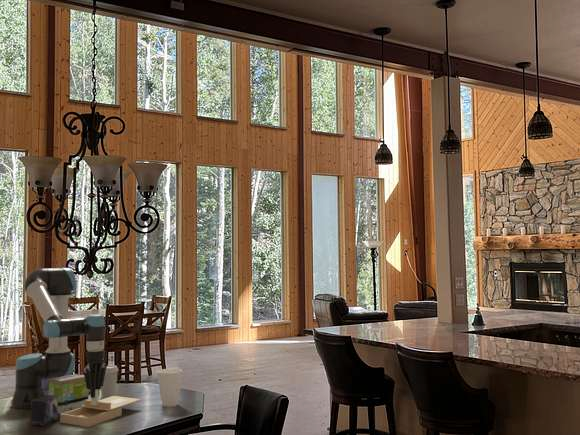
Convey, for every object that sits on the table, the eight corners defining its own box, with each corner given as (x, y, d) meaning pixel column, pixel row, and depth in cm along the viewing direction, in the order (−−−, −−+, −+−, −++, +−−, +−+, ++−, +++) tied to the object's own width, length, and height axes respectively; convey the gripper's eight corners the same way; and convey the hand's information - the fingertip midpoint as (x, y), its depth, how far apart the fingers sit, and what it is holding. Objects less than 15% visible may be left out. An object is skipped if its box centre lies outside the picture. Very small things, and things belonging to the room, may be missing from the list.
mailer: (60, 422, 263) (60, 414, 263) (94, 411, 281) (94, 403, 281) (88, 426, 256) (88, 418, 256) (121, 415, 273) (121, 407, 274)
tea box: (61, 414, 276) (62, 380, 277) (47, 411, 281) (48, 378, 282) (89, 407, 289) (89, 375, 290) (74, 404, 294) (75, 373, 295)
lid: (81, 406, 274) (81, 400, 274) (113, 396, 292) (113, 390, 292) (109, 410, 267) (109, 403, 267) (141, 400, 285) (141, 394, 285)
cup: (168, 400, 299) (168, 367, 300) (187, 403, 293) (187, 369, 294) (151, 406, 289) (151, 371, 290) (171, 409, 283) (171, 374, 284)
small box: (44, 426, 257) (44, 400, 257) (30, 425, 258) (30, 400, 259) (58, 419, 267) (58, 395, 268) (44, 419, 269) (45, 394, 269)
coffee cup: (122, 396, 310) (122, 366, 311) (107, 400, 302) (107, 369, 303) (109, 394, 315) (109, 364, 316) (94, 397, 307) (94, 367, 308)
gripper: (90, 352, 264) (90, 408, 263) (112, 348, 276) (111, 402, 274) (77, 351, 267) (77, 407, 266) (99, 347, 279) (99, 400, 278)
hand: (94, 404), depth 270 cm, fingers closed
